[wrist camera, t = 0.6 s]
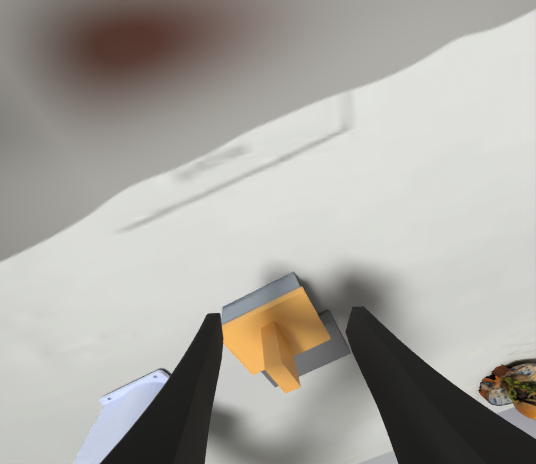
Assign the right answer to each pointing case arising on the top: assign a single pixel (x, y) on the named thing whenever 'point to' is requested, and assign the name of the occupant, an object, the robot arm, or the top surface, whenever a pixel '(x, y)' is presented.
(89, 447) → the robot arm
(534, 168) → the top surface
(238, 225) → the top surface
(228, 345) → the lid
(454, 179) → the top surface
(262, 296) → the tub
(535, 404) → the burger
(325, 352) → the mat
